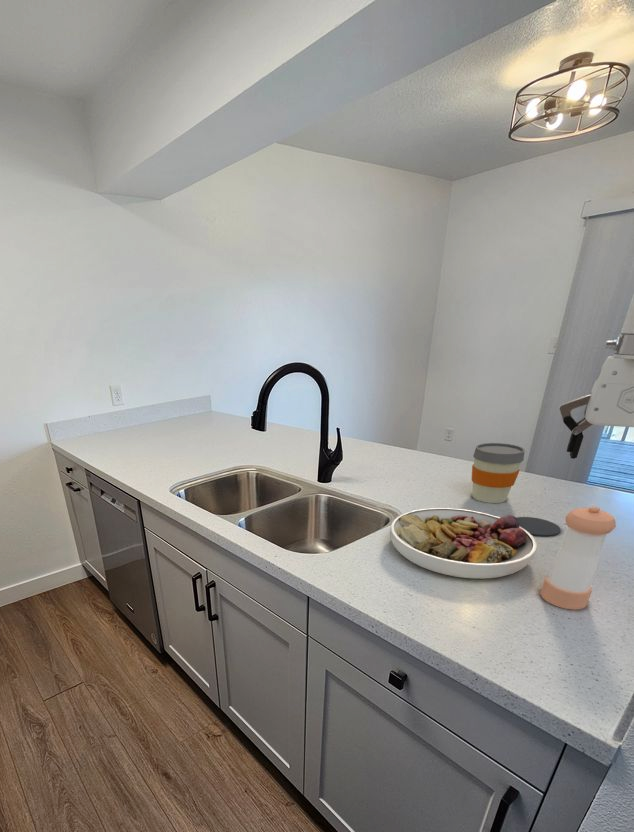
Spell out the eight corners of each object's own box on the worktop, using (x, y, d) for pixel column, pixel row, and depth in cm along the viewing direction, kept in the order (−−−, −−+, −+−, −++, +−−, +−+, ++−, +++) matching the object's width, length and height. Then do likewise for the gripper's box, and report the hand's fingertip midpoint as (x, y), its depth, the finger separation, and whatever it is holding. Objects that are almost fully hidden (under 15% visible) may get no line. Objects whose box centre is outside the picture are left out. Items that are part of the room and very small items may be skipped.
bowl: (433, 594, 87) (439, 560, 84) (367, 532, 114) (370, 504, 111) (566, 575, 91) (577, 542, 87) (472, 519, 118) (478, 492, 114)
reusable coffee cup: (512, 508, 123) (525, 456, 116) (463, 501, 129) (472, 451, 122) (513, 493, 132) (526, 444, 125) (467, 488, 138) (477, 441, 131)
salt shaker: (589, 597, 84) (624, 505, 75) (583, 614, 79) (619, 519, 71) (544, 584, 89) (573, 496, 80) (536, 600, 84) (565, 509, 75)
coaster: (558, 522, 113) (558, 520, 113) (561, 539, 105) (562, 538, 105) (509, 515, 118) (509, 514, 118) (508, 531, 110) (508, 530, 110)
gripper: (578, 349, 65) (546, 460, 73) (741, 347, 57) (686, 472, 65) (574, 346, 71) (544, 449, 79) (721, 343, 63) (672, 458, 70)
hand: (608, 459), depth 72 cm, fingers open, 9 cm apart
